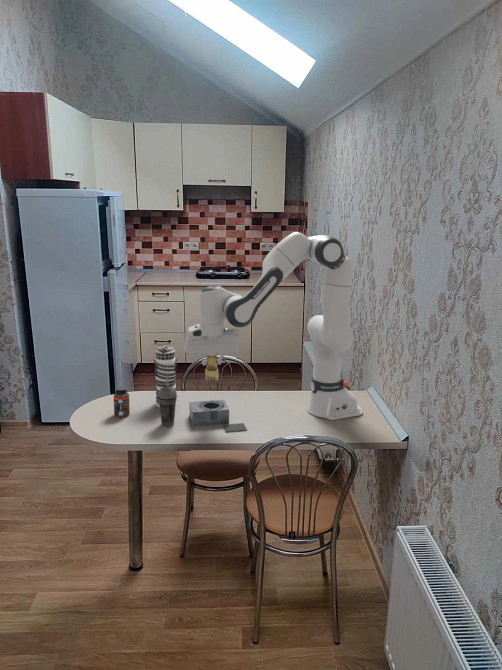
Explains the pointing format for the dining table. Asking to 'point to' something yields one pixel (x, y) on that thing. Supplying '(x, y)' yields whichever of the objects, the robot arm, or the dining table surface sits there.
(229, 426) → the mat
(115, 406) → the supplement bottle
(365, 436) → the dining table surface
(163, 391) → the beverage cup
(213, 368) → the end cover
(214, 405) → the housing
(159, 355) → the checkered thermos bottle
